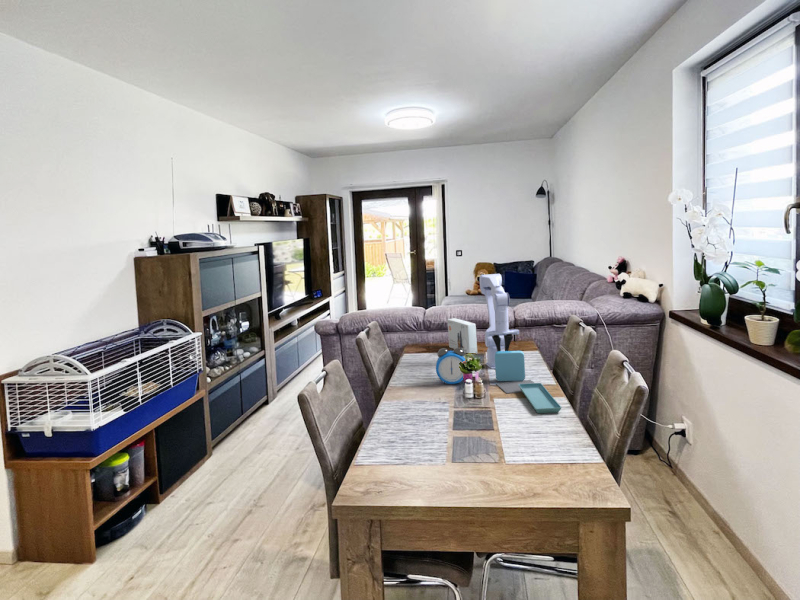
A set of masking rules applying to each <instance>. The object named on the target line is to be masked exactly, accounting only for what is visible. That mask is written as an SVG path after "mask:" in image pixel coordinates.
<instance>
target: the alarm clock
mask: <svg viewBox="0 0 800 600" xmlns="http://www.w3.org/2000/svg"><path fill="white" fill-rule="evenodd" d="M465 354H466V353H464V351H463V349H461V348H455V349H453V348H451V349H449V350H448V348H445V347H442V348H439V350H438V351H437V357H438V358H437V359H436V363H435V372H436V376H437V377H438V378H439V379H440V381H442V382H443V385H445V384H449V385H457V384H460V383H461V382H462V381H463V380H464V379H463V374H462V372H461V371H460V368H459V363H460V362H463V361H465V360H466V358H465Z"/></svg>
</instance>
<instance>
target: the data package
mask: <svg viewBox="0 0 800 600" xmlns="http://www.w3.org/2000/svg"><path fill="white" fill-rule="evenodd" d="M525 364H526V363H525V353H524V352H523V351H522V350H508V351H505V350H504V351H498V352H496V353H495V369H494V370H495V379H496V381H498V382H513V381H523V380H526V366H525Z"/></svg>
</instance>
